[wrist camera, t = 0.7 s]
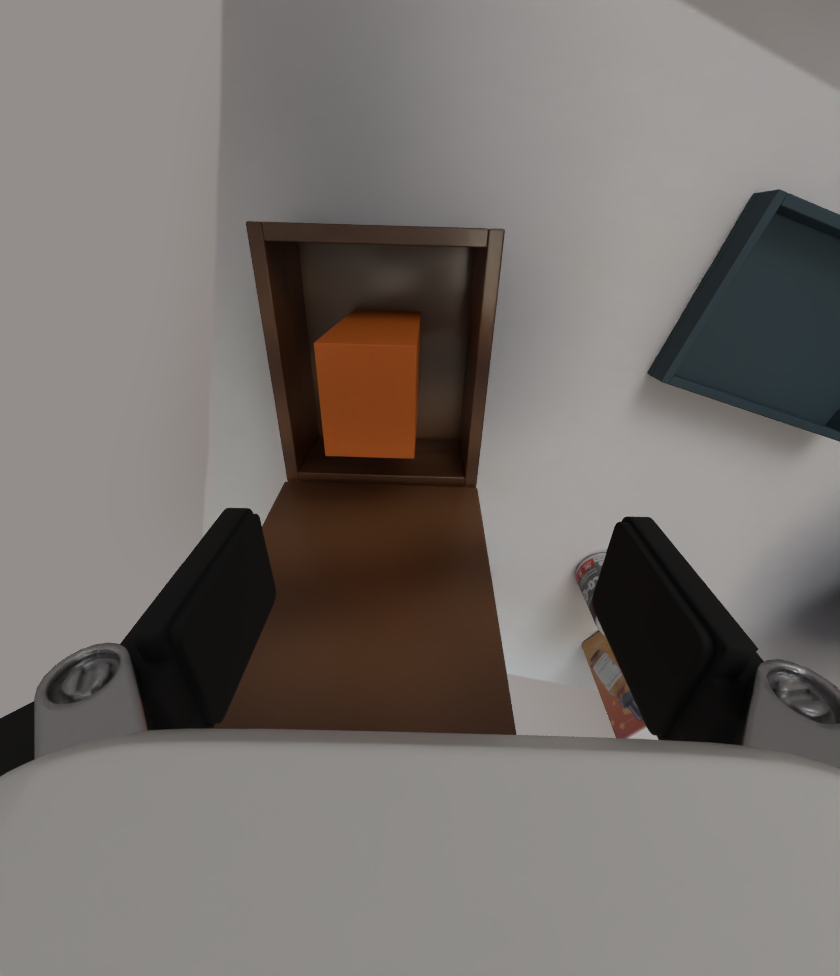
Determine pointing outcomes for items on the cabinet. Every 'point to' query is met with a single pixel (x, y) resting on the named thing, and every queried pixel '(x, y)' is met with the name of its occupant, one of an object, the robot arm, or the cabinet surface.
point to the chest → (381, 286)
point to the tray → (767, 318)
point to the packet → (370, 384)
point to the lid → (377, 615)
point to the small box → (614, 690)
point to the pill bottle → (590, 580)
